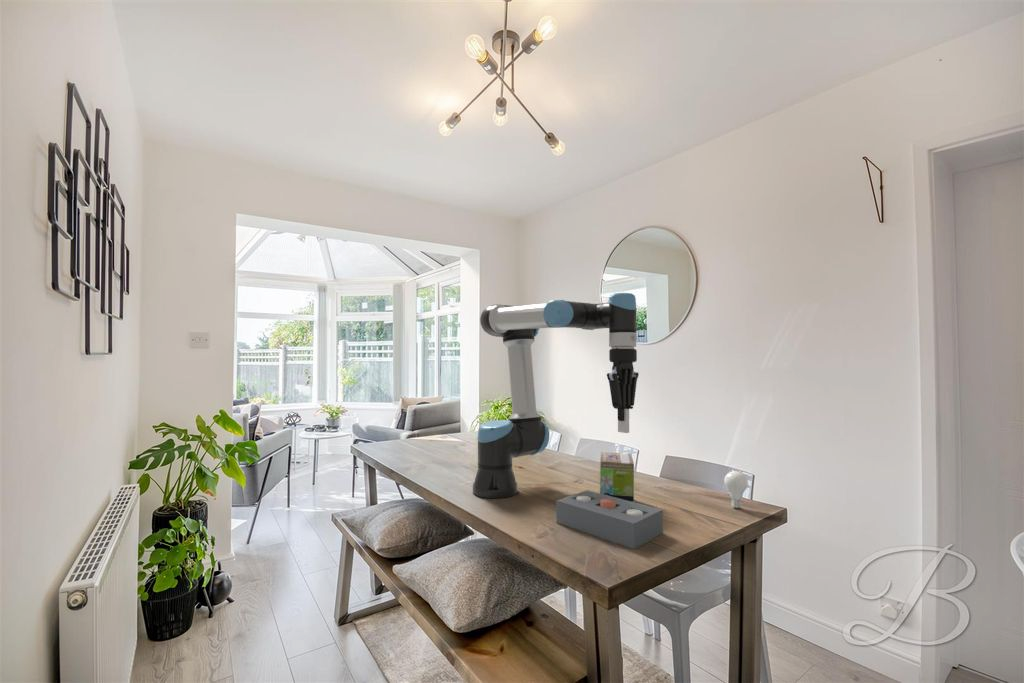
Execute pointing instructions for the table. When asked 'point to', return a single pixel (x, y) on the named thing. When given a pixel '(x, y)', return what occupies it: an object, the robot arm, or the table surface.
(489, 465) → the robot arm
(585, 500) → the grey plunger
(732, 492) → the lightbulb
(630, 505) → the board
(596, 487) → the table surface
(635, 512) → the grey plunger
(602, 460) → the tea box
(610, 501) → the brown egg
